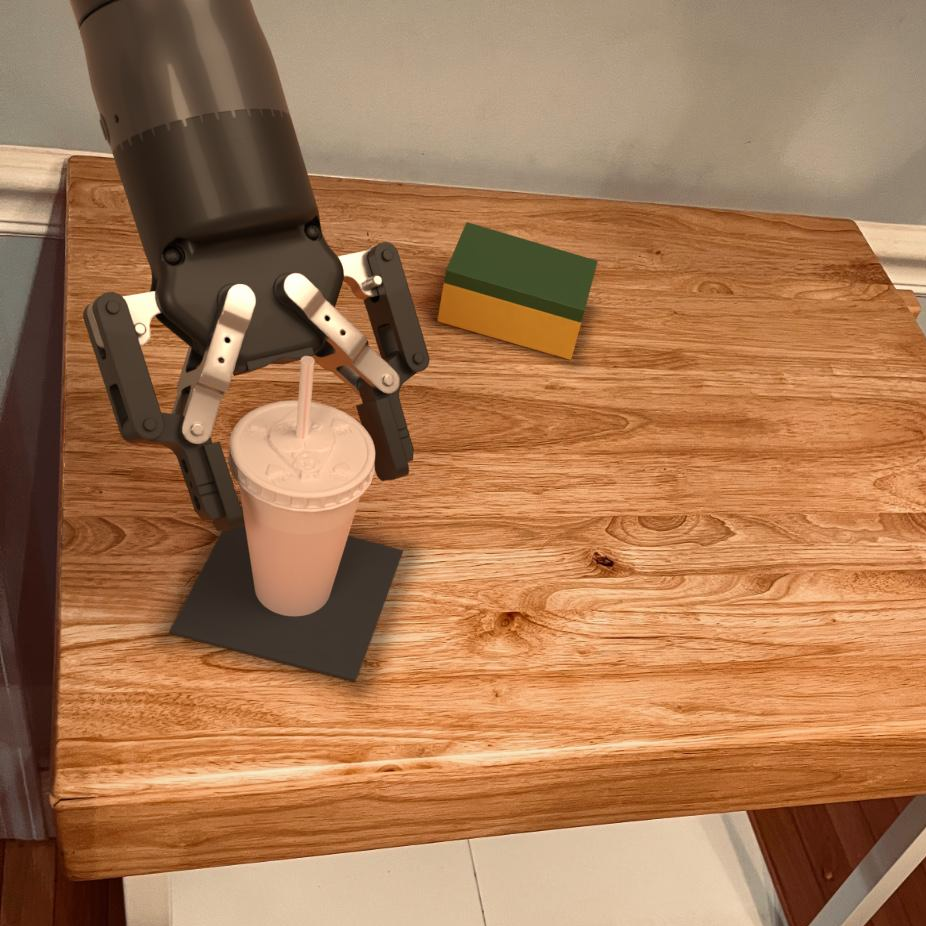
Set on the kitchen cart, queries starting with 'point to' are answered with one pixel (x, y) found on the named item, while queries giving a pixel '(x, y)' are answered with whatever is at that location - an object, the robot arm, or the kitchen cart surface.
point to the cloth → (290, 637)
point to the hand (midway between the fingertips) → (316, 501)
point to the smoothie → (299, 494)
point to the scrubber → (516, 290)
